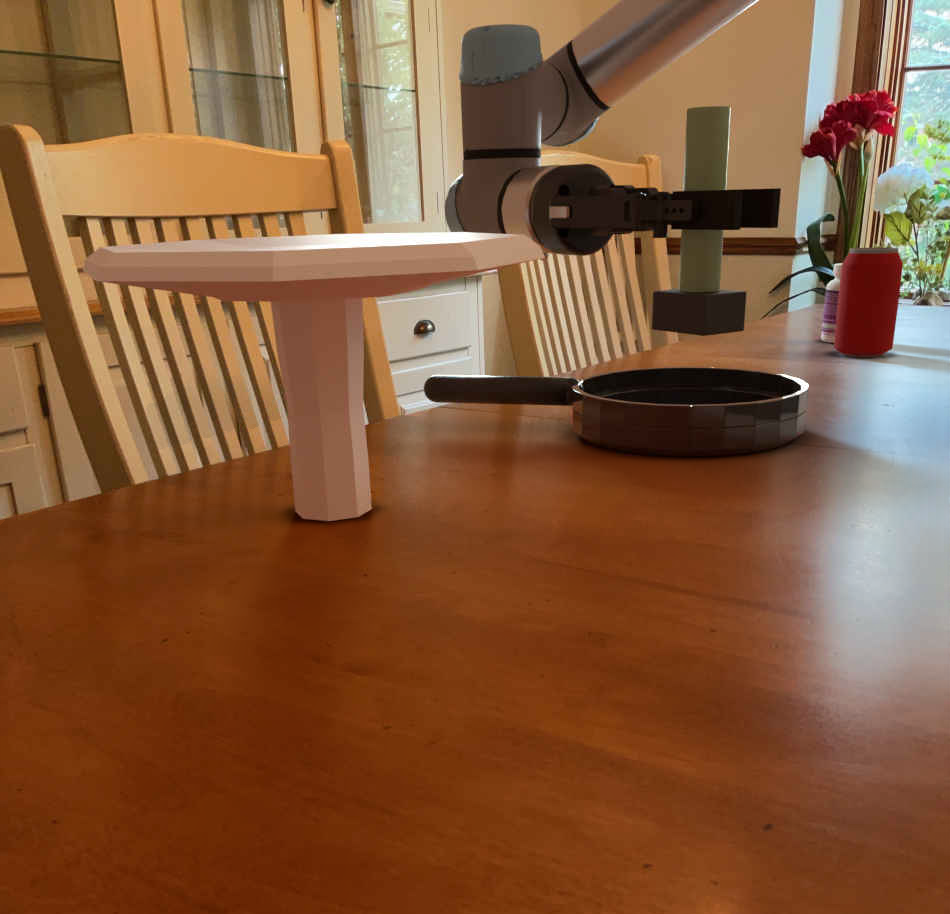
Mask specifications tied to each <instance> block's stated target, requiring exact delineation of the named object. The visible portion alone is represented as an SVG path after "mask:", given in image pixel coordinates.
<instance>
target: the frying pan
mask: <svg viewBox="0 0 950 914" xmlns="http://www.w3.org/2000/svg"><path fill="white" fill-rule="evenodd" d="M577 380H578V381H580V382H579V383H575V384H572V385H571V406H570V426H571V429H572V431H573V432H574V433H576V434H578V435H579V436H581V438H582V439H584V440H585V441H586V442H587V443H590V444H593V445H595V446H598V447H602V448H606V449H609V450H614V451H620V452H625V453H632V454H641V455H651V456H665V457H721V456H722V457H723V456H733V455H744V454H752V453H758V452H762V451H768V450H771V449H776V448H779V447H782V446H784V445H787V444H788V443H791V441H793V440H794V439H796V438H797V437H799V436H801V435H802V434H804V433H805V430H806V419H807V408H808V397H809V383H807V382H806V381H804V380H802V379H800V378H797V377H794V376H791V375H787V374H783V373H777V372H772V371H771V372H770V371H764V370H757V369H756V370H754V369H747V368H737V367H735V368H734V367H733V368H732V367H717V366H716V367H715V366H661V367H659V366H658V367H643V368H632V369H631V368H629V369H622V370H621V369H620V370H614V371H606V372H601V373H596V374H591V375H588V376H585V377H582V378H579V379H577ZM581 384H582V386H583V391H581V390H580V385H581Z"/></svg>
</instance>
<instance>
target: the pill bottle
mask: <svg viewBox="0 0 950 914" xmlns="http://www.w3.org/2000/svg"><path fill="white" fill-rule="evenodd" d="M842 263H843V262H841V263H835V264H833V271H832V275H833V276H834V279H832V280H830V281H829V282H828V283H827V284H826V287H825V294H824V304H823V314H822V322H821V335H820V339H821V341H823V342H825V343H830V344H831V343H832V344H834V339H835V328H836V317H837V307H838V297H839V287H840V278H841V269H842Z"/></svg>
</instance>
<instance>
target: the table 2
mask: <svg viewBox="0 0 950 914" xmlns="http://www.w3.org/2000/svg"><path fill="white" fill-rule="evenodd" d="M542 258H545V257H544V254H543V252H542V249H541V247H540V246H539V245H538V244H536V243H535V242H533V241H532V240H531V239H529V238H528V237H526V236H525V235H517V234H495V233H473V232H451V231H448V232H447V231H446V232H445V231H444V232H440V231H439V232H438V231H437V232H383V233H330V234H329V233H328V234H327V233H326V234H307V235H305V234H304V235H303V234H301V235H283V236H282V235H281V236H280V235H279V236H278V235H277V236H259V237H257V236H256V237H255V236H253V237H232V238H231V237H230V238H209V239H207V238H205V239H192V240H191V239H187V240H176V241H175V240H174V241H162V242H149V243H137V244H136V243H135V244H123V245H121V244H120V245H109V246H100V247H98V248H97V249H96V250H94V252H92V253H90V254H89V256H87V257H86V258H85V260H84V263H83V268H82V272H83V273H84V274H85V275H87V276H88V277H89V278H91V279H92V280H93V281H95V282H98V283H107V284H113V285H121V286H127V287H128V286H129V287H137V288H142V289H150V290H158V291H164V292H172V293H178V294H179V293H180V294H185V295H186V294H187V295H195V296H201V297H209V298H214V299H216V300H219V301H222V302H255V303H256V302H260V303H262V302H263V303H265V302H266V303H267V302H269V303H270V308H271V309H270V310H271V314H272V315H271V316H272V324H273V331H274V339H275V345H276V353H277V354H276V355H277V359H278V364H279V369H280V376H281V380H282V382H281V383H282V387H283V392H284V398H285V403H286V411H287V425H288V426H287V427H288V442H289V456H290V458H289V459H290V468H291V469H290V470H291V480H292V488H293V490H292V491H293V498H294V499H293V500H294V510H295V513H297V515H298V516H299V517H300V518H301V519H303V520H312V521H313V520H314V521H322V522H332V521H339V520H341V521H342V520H347V519H354V518H359V517H361V516H362V515H364V514H366V513H368V512H369V511H371V510H373V507H372V493H371V479H370V478H371V476H370V463H369V462H370V460H369V451H368V441H367V440H368V439H367V432H366V422H365V421H366V420H365V411H364V375H365V373H364V371H365V369H364V368H365V367H364V365H365V343H364V342H365V340H364V308H363V305H364V304H363V299H369V298H384V297H391V296H395V295H400V294H405V293H410V292H415V291H420V290H423V289H425V288H428V287H430V286H432V285H435V284H440V283H444V282H448V281H452V280H457V279H461V278H465V277H469V276H474V275H477V274H478V275H479V274H482V273H486V272H490V271H495V270H499V269H503V268H508V267H512V266H516V265H520V264H525V263H528V262H533V261H538V260H540V259H542Z"/></svg>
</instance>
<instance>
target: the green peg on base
mask: <svg viewBox="0 0 950 914" xmlns="http://www.w3.org/2000/svg"><path fill="white" fill-rule="evenodd" d="M731 113H732V107H731V106H728V105H712V106H711V105H709V106H696V107H689V108H687V109H686V121H685V141H684V142H685V145H684V162H683V163H684V164H683V165H684V166H683V187H682V191H704V190H727V181H728V180H727V179H728V163H729V162H728V161H729V149H730V148H729V145H730V131H731ZM680 231H681V233H680V249H679V251H680V252H679V253H680V255H679V271H678V273H679V274H678V276H679V277H678V288H673V289H672V288H671V289H661V290H660V289H659V290H653V291H652V309H651V310H652V312H651V313H652V315H651V330H653V331H660V332H661V331H662V332H669V333H676V334H677V333H678V334H684V335H692V336H699V337H700V336H701V337H702V336H703V337H706V336H715V335H722V334H730V333H731V334H732V333H737V332H744V331H745V322H746V321H745V320H746V319H745V318H746V308H747V307H746V305H747V291H745V290H733V289H721V281H722V280H721V279H722V262H723V246H724V231H725V230H681V229H680Z"/></svg>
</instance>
